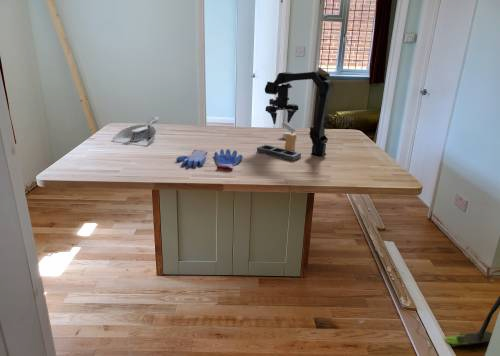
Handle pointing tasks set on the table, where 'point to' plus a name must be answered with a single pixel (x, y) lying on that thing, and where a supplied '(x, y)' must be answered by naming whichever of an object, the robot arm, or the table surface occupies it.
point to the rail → (279, 152)
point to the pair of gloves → (223, 160)
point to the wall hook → (288, 129)
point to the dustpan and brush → (137, 133)
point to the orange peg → (290, 142)
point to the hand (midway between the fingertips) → (281, 123)
